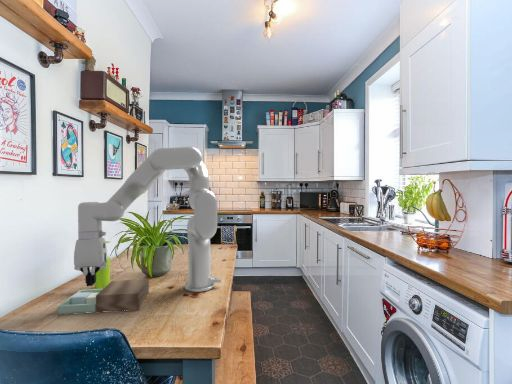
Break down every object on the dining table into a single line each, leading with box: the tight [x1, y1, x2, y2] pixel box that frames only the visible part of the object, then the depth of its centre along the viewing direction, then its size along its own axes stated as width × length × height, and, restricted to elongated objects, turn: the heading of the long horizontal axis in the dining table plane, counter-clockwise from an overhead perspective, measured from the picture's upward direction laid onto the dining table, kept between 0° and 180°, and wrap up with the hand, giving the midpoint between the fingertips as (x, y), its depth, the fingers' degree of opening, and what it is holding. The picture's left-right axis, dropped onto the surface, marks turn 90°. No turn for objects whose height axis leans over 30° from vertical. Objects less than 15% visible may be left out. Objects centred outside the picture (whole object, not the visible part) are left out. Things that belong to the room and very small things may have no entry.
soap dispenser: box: [93, 240, 111, 289], centre depth 123 cm, size 6×7×20 cm
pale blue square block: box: [70, 292, 92, 305], centre depth 106 cm, size 5×5×3 cm
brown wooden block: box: [96, 278, 150, 313], centre depth 107 cm, size 14×16×6 cm
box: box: [57, 288, 103, 316], centre depth 105 cm, size 12×16×3 cm
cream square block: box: [86, 293, 98, 304], centre depth 105 cm, size 5×5×3 cm
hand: (90, 284), depth 105 cm, fingers closed
